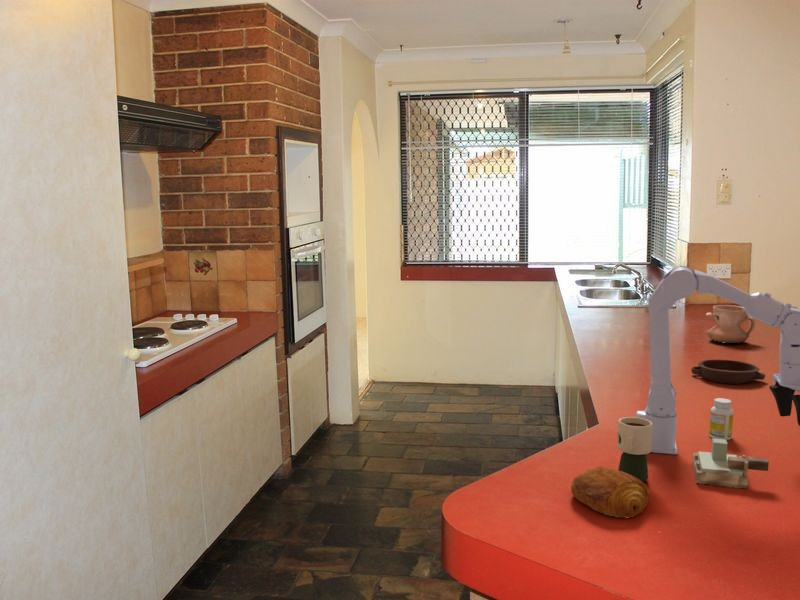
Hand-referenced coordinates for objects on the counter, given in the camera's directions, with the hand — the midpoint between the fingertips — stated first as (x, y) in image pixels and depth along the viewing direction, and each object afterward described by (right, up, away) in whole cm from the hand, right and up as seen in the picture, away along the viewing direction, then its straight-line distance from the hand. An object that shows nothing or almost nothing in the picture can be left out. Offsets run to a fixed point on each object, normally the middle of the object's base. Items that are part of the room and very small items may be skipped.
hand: (794, 420), depth 172 cm
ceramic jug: (+42, +10, +130) cm, 137 cm away
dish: (+17, +1, +75) cm, 77 cm away
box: (-20, -11, -6) cm, 23 cm away
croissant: (-47, -14, -20) cm, 53 cm away
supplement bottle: (-9, -7, +19) cm, 22 cm away
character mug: (-39, -12, -8) cm, 41 cm away
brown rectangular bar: (-16, -8, -11) cm, 21 cm away
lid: (-20, -9, -6) cm, 22 cm away
